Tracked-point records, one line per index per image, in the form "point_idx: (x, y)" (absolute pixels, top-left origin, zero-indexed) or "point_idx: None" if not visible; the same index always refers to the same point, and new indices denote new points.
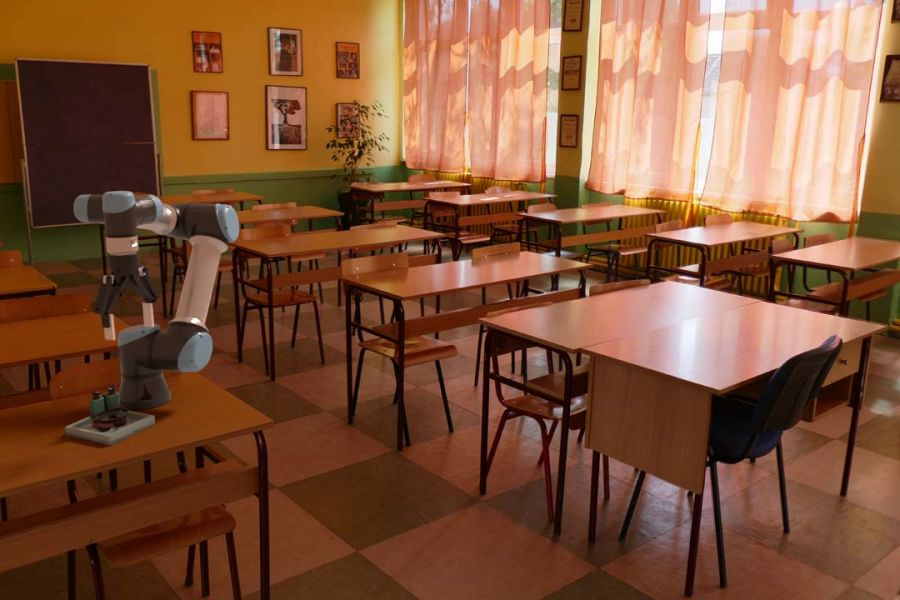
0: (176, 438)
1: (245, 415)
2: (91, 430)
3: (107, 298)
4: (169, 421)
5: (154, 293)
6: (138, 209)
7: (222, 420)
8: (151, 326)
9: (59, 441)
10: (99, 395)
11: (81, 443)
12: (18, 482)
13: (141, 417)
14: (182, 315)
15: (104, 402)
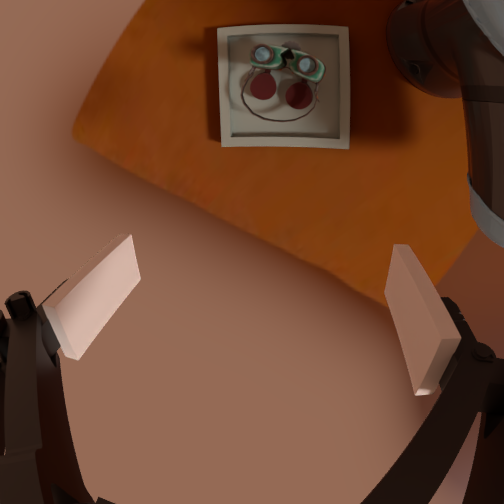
0: (301, 231)
1: None
2: (227, 88)
3: (3, 426)
4: (367, 165)
5: (479, 439)
6: None
7: None
8: (386, 291)
9: (198, 44)
10: (281, 48)
11: (208, 86)
12: (79, 135)
13: (339, 119)
14: None
15: (290, 58)
